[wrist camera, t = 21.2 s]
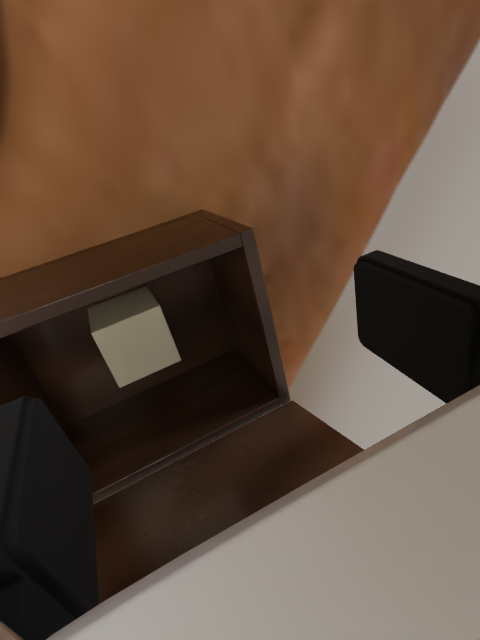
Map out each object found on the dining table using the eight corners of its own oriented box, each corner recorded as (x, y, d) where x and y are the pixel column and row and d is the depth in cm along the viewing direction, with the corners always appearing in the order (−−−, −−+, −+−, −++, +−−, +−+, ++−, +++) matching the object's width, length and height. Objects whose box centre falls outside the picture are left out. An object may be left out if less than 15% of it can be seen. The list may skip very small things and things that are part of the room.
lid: (-35, 888, 9) (61, 1001, 10) (469, 520, 13) (496, 628, 14) (58, 522, 22) (95, 587, 23) (292, 399, 26) (313, 460, 27)
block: (87, 307, 26) (90, 333, 22) (146, 284, 27) (159, 305, 23) (112, 357, 28) (119, 388, 24) (166, 334, 29) (181, 360, 25)
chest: (-34, 289, 23) (-80, 350, 16) (202, 209, 27) (253, 227, 20) (62, 430, 30) (61, 521, 22) (241, 348, 34) (290, 401, 26)
